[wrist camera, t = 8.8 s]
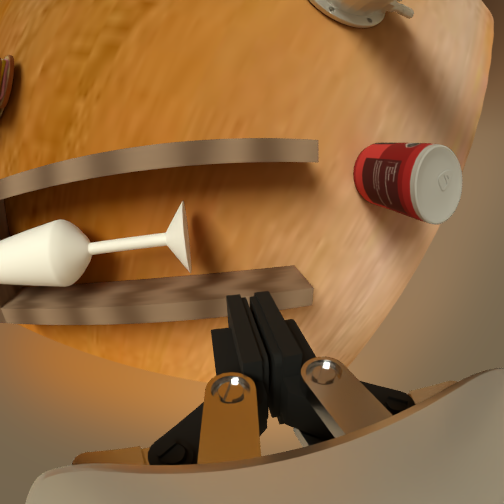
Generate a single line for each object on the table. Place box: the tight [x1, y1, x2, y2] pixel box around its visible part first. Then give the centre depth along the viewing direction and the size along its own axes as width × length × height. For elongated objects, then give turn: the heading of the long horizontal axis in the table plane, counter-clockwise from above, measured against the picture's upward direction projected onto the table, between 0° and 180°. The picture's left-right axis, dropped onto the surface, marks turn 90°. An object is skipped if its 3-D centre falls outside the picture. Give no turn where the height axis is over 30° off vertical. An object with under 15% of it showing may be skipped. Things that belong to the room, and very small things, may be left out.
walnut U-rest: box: [0, 138, 318, 325], centre depth 24 cm, size 38×16×6 cm, turn 92°
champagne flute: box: [0, 201, 191, 287], centre depth 22 cm, size 7×7×24 cm
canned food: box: [353, 143, 462, 224], centre depth 25 cm, size 8×8×11 cm
